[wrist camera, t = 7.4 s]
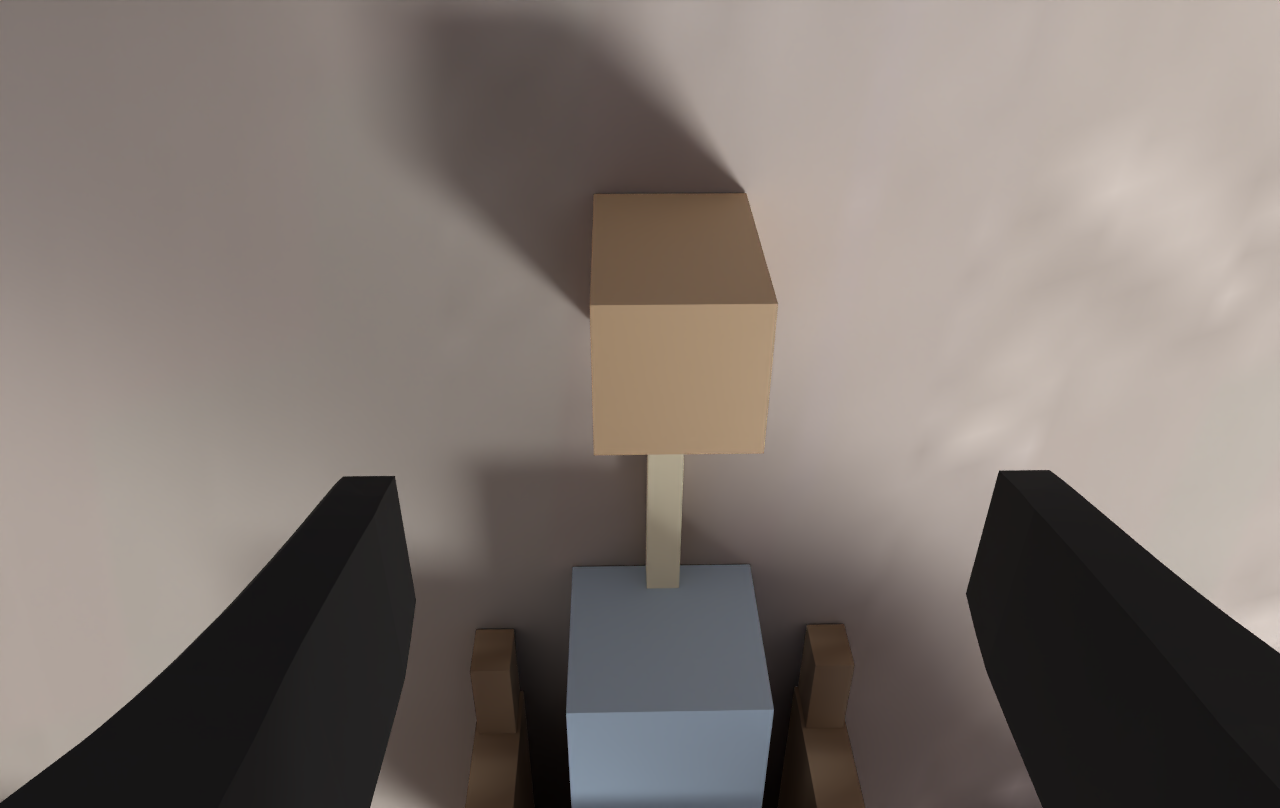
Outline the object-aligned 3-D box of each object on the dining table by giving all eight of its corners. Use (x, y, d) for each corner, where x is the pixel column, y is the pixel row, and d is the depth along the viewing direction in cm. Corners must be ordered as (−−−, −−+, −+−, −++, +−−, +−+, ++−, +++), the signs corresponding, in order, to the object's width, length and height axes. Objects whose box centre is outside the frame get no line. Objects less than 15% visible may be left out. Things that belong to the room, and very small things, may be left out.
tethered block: (784, 192, 20) (824, 303, 16) (739, 681, 28) (759, 830, 24) (555, 193, 19) (542, 305, 16) (577, 684, 28) (572, 833, 24)
